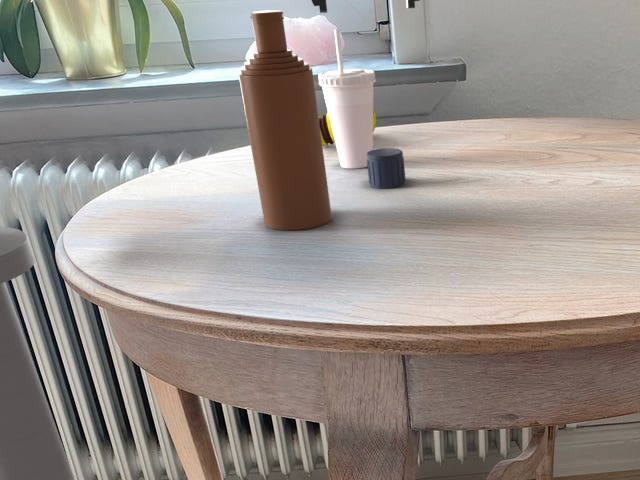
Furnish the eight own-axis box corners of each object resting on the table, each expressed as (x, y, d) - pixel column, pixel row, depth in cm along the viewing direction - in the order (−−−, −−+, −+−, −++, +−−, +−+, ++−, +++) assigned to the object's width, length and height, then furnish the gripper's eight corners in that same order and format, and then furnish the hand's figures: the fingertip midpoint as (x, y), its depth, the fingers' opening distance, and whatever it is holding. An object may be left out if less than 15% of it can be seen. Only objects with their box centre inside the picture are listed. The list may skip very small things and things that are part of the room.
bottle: (262, 233, 82) (224, 17, 72) (266, 214, 87) (231, 10, 77) (331, 227, 82) (303, 12, 73) (332, 209, 88) (305, 6, 78)
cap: (401, 178, 97) (398, 146, 95) (408, 186, 94) (406, 153, 92) (367, 181, 96) (363, 150, 95) (373, 190, 93) (369, 157, 92)
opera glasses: (345, 139, 120) (334, 100, 117) (381, 131, 118) (370, 91, 115) (319, 155, 112) (306, 114, 109) (356, 147, 110) (344, 104, 108)
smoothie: (321, 163, 105) (303, 29, 97) (371, 156, 107) (358, 24, 99) (340, 174, 100) (323, 33, 92) (392, 165, 102) (380, 28, 94)
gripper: (425, -200, 81) (435, 3, 90) (268, -197, 80) (295, 10, 89) (433, -210, 75) (443, 10, 84) (263, -206, 74) (292, 17, 83)
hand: (367, 10), depth 87 cm, fingers open, 8 cm apart
